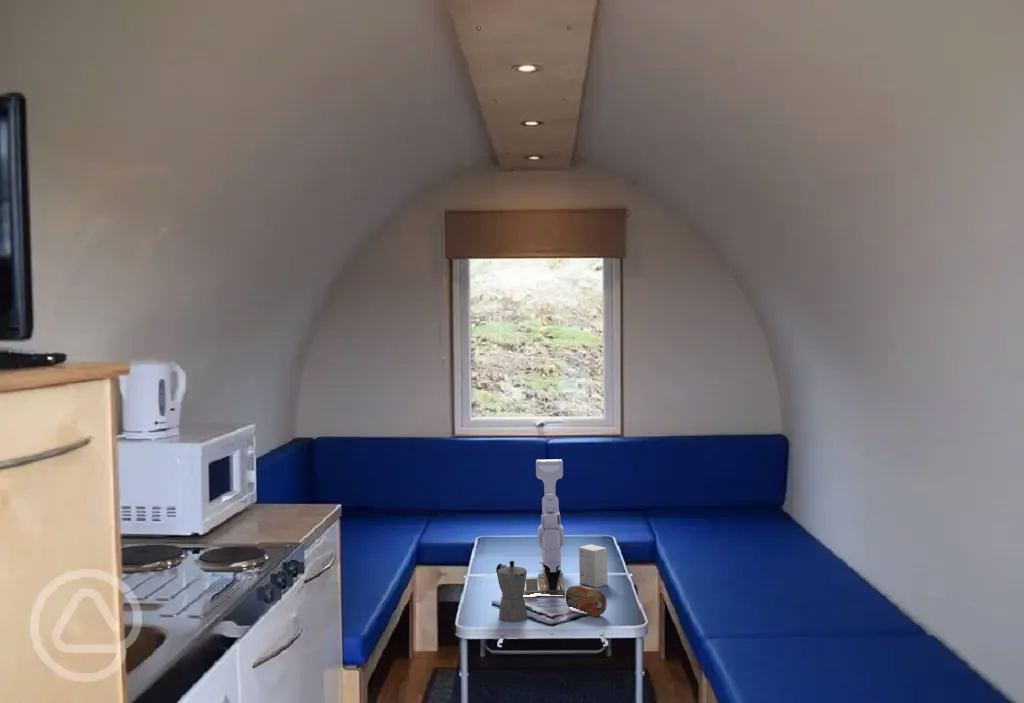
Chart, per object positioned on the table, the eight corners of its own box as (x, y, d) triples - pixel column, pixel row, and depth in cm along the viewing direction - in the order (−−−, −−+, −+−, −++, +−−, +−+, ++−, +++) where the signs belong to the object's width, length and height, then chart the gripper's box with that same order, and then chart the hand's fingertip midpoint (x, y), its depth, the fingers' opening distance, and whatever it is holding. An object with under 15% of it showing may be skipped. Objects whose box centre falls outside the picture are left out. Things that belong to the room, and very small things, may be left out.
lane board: (519, 580, 317) (518, 574, 317) (560, 579, 318) (560, 573, 318) (520, 597, 297) (520, 591, 297) (564, 596, 298) (564, 589, 298)
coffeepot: (537, 619, 275) (536, 562, 274) (512, 626, 269) (510, 567, 269) (510, 607, 287) (509, 552, 287) (485, 613, 282) (484, 557, 282)
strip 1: (522, 579, 314) (522, 567, 314) (537, 579, 314) (537, 566, 314) (524, 592, 299) (523, 579, 299) (540, 592, 299) (539, 578, 299)
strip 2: (542, 579, 314) (542, 566, 314) (557, 578, 315) (557, 566, 314) (544, 591, 300) (544, 578, 299) (560, 591, 300) (560, 578, 299)
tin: (565, 609, 284) (564, 584, 283) (571, 607, 286) (570, 581, 286) (602, 619, 274) (601, 592, 273) (608, 617, 276) (608, 590, 276)
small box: (608, 584, 310) (607, 547, 310) (595, 588, 306) (594, 551, 306) (591, 579, 317) (591, 543, 316) (579, 583, 313) (578, 546, 312)
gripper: (538, 543, 307) (539, 581, 308) (540, 553, 293) (541, 594, 293) (558, 542, 307) (559, 580, 308) (561, 553, 293) (562, 593, 293)
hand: (552, 587), depth 301 cm, fingers open, 6 cm apart
